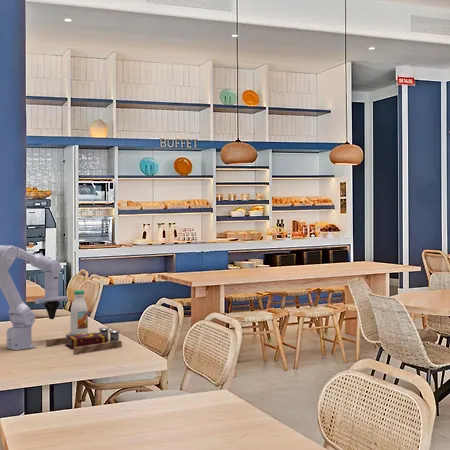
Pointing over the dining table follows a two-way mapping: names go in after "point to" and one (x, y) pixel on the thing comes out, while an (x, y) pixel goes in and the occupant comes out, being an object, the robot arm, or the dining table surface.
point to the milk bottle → (79, 314)
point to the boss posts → (113, 334)
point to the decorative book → (85, 339)
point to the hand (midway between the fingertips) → (51, 318)
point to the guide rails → (85, 348)
